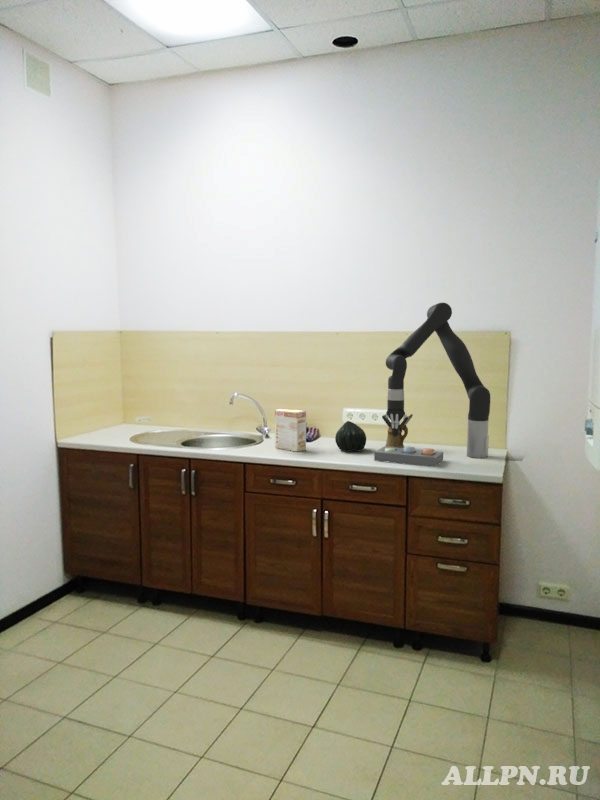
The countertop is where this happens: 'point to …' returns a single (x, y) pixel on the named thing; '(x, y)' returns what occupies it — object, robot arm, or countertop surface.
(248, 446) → the countertop surface
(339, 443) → the squash
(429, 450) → the terracotta button
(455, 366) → the robot arm
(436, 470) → the countertop surface
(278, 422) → the coffeecake box
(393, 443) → the wooden mug
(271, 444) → the countertop surface
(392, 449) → the sage button
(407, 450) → the slate button
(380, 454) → the button panel
